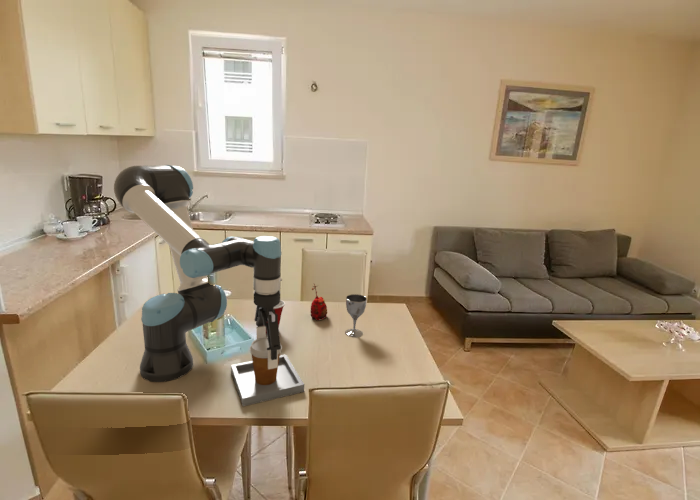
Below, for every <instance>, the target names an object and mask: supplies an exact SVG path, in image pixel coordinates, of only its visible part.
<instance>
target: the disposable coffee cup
mask: <svg viewBox="0 0 700 500" xmlns="http://www.w3.org/2000/svg"><path fill="white" fill-rule="evenodd" d="M280 346H281V349H280V350H278V363H279V357H280V355H281V352H282V350H283V345H282V344H281V343H280ZM267 348H269V343H268V337H267V336H266V337H263V338H259V339H257V338H256V339H254V340H253V341H252V342H251V344H250V346H249V352H250V354H251V359H252V360H251V361H253V367H254V374H255V381H256V382H257V383H258V384H260V385H269V384H272V383H274V382H275V381H276V376H277V370H278V368H273V369H268V350H267Z"/></svg>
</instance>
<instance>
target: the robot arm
mask: <svg viewBox="0 0 700 500" xmlns="http://www.w3.org/2000/svg"><path fill="white" fill-rule="evenodd" d="M193 191H194V184H193V180H192V178H191V176H190V174H189V173H188V172H187V170H185V169H184V168H182V167H181V166H178V165H170V164H164V165H163V164H162V165H160V164H159V165H131V166H128V167H127V168H126V167H125V168H124V169H123V170H121V171H120V172H119V173H118V175H117V176H116V177H115V180H114V183H113V192H114V195H115V198H116V200H117V202H118V203H119V204H120V205H121V207H122V208H123V209H124V210H125V211H127V212H128V213H131V214H135V215H136V216H137V217H138V218H140V220H141V221H143V222H144V223H145V224H146V225H147V226H148V227H149V228H150V229H151V230H152V231H153V232H154V233H155V234H156V235H157V236H159V237H160V238H161V239H162V240H163V241H164V242H165V243H166V244H167V245H168V247H169V249H170V253H171V256H172V260H173V262H174V266H175V269H176V274H177V277H178V280H179V282H180V283H179V286H178V289H177V292H168V293H161V294H158V295H157V294H156V295H155V296H153V297H150V298H149V299H148V300H147V301H145V302H144V304H143V306H142V307H141V319H140V320H141V322H142V323H141V324H142V331H143V343H144V350H143V354H142V358H141V361H140V364H139V371H140V376H141V378H143V379H144V380H146V381H149V382H153V383H155V382H156V383H157V382H158V383H161V382H163V383H164V382H170V381H174V380H176V379H179V378H181V377H184V376H186V375H187V374H189V372H191V370H192V368H193V367H194V357H193V354H192V353H191V350H190V348H189V346H188V343H187V335H186V334H187V333H189V332H190V331H192V330H194V329H197V328H199V327H201V326H204V325H206V324H209V323H212V322H215V321H216V320H217V319H220V318H221V317H223V315H224V314H225V313H226V312H225V311H226V310H227V306H228V299H227V294H226V292H225V291H224V289H223V288H222V287H221V286H220V285H219V284H215V286H213V285H210V284H209V283H208V277H209V275H211V274H214V273H218V272H221V271H225V270H229V269H231V268H236V267H238V266H245V267H248V268H252V269H253V277H252V279H253V282H252V283H253V287H252V288H253V304H254V305H255V306H256V308H255V314H254V322H255V325H256V339H259V338H263V337H268V343H269V348H267V350H268V369H273V368H278V350H280V349H281V346H280V344H281V339H280V331H279V328H278V315H277V314H276V313H275V310H274V307H275V306H276V305H278V304H279V303H280V300H281V282H282V281H283V278H282V277H281V266H282V265H281V264H282V263H281V262H282V247H281V240H280V238H278V237H276V236H272V235H271V236H268V235H260V236H257V237H255V238H254V239H253V240H251V239H247V238H243V237H241V236H227V237H226V238H225V239H224V240H222V242H219V243H213V244H210V243H209V242H208V241H206V240H205V239H204V238H203V237H202V236H201V235H199V234H198V232H196V231H195V230H194V228H193V224H192V220H191V217H190V214H189V211H188V207H189V205H190V204H191V201H190V198H191V197H192V196H193V193H194V192H193ZM207 276H208V277H207ZM267 322H268V323H267ZM263 325H264V326H263ZM266 331H267V334H266Z"/></svg>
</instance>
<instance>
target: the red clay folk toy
mask: <svg viewBox="0 0 700 500" xmlns="http://www.w3.org/2000/svg"><path fill="white" fill-rule="evenodd" d="M318 286H319V285H318V284H317V285H316V284H315V283H313V285H312V288H311V290H312V291H314V290H315V298H314V299H313V300H312V302H311V305H310V316H311V317H312V319H313V320H316V321H321V320H324V319H326V318H327V315H328V307H327V304H326V302H325V299H324V297H323V296H320V297H319V295H318V291H317V287H318Z"/></svg>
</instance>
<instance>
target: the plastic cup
mask: <svg viewBox="0 0 700 500" xmlns="http://www.w3.org/2000/svg"><path fill="white" fill-rule="evenodd" d="M285 305H286V302H285V301H284V300H282V299H280V303H279V304H278V305H276V306H275V307H274V310H275V313H276V314H277V315H278V328H279V327H280V323H281V318H282V313H283V310H284V306H285ZM267 323H268V322H267ZM263 326H264V325H263ZM266 335H267V331H266Z"/></svg>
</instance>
